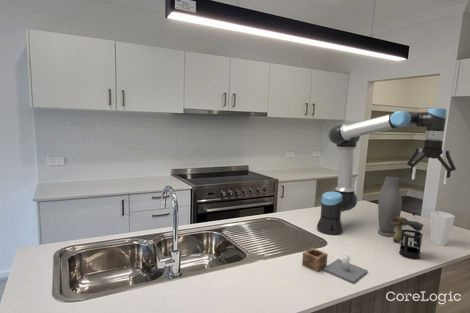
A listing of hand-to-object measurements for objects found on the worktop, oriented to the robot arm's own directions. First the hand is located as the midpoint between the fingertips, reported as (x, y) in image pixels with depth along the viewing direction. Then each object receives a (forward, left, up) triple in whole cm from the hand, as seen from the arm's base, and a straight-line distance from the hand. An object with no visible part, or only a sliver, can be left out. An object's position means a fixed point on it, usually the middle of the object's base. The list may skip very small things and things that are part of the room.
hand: (428, 181), depth 146 cm
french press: (-3, -7, -38) cm, 39 cm away
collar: (-29, -55, -38) cm, 73 cm away
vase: (-22, +14, -38) cm, 46 cm away
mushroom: (-13, +5, -38) cm, 41 cm away
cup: (+3, +23, -38) cm, 45 cm away
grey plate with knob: (-17, -49, -38) cm, 64 cm away
